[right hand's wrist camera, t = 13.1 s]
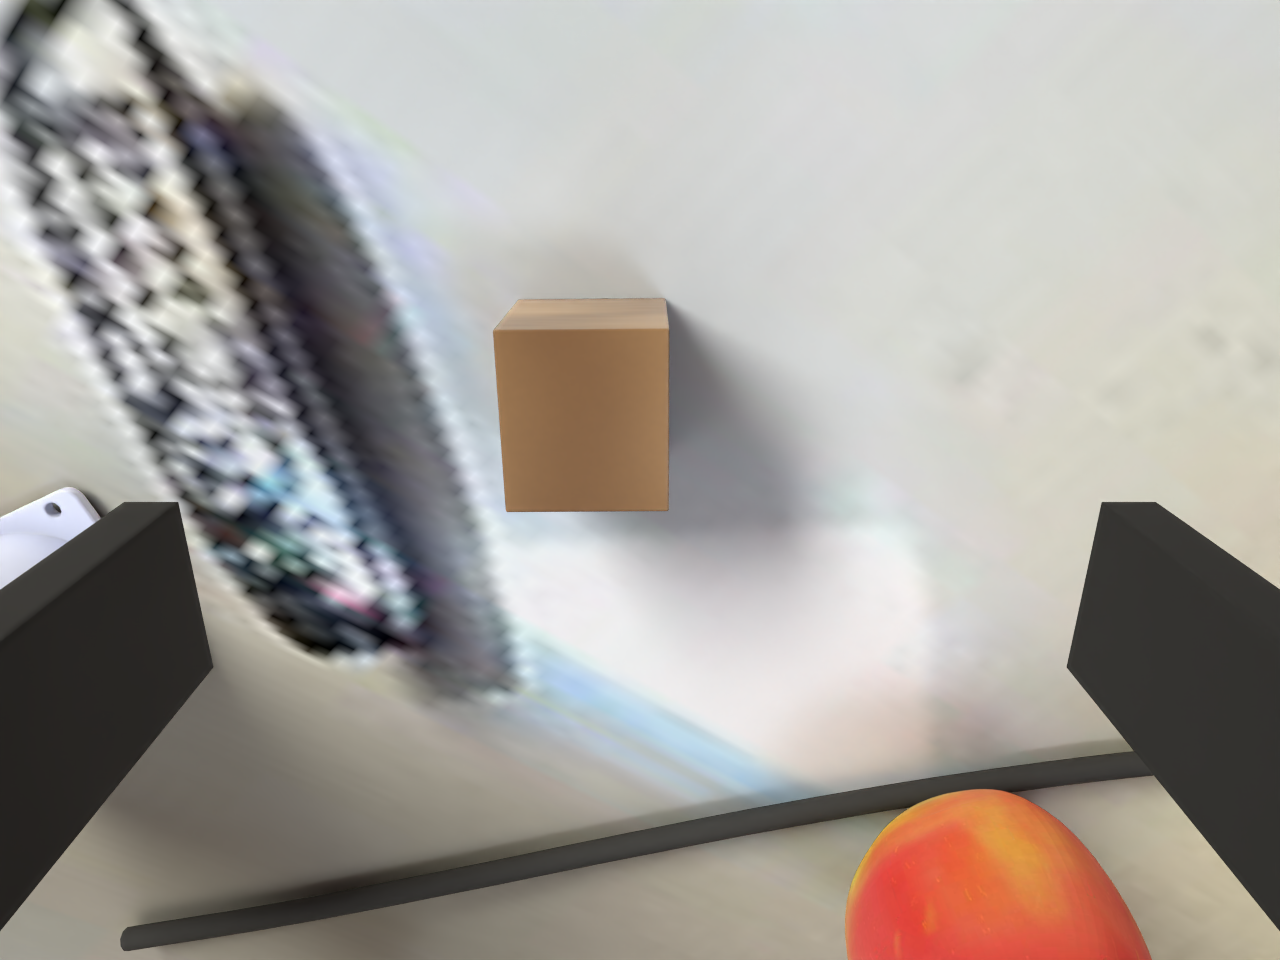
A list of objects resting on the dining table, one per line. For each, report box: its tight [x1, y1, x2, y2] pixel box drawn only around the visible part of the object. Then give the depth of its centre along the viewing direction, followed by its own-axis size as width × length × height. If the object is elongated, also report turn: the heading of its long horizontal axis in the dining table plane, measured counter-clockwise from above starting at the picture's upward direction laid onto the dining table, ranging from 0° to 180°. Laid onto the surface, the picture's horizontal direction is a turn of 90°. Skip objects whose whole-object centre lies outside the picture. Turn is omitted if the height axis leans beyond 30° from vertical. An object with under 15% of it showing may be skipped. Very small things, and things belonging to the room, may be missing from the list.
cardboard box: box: [493, 298, 669, 512], centre depth 25 cm, size 5×5×5 cm
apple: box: [845, 789, 1152, 960], centre depth 29 cm, size 10×10×10 cm
